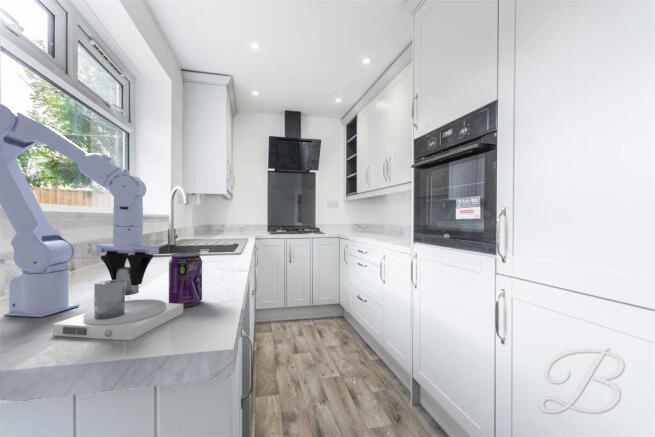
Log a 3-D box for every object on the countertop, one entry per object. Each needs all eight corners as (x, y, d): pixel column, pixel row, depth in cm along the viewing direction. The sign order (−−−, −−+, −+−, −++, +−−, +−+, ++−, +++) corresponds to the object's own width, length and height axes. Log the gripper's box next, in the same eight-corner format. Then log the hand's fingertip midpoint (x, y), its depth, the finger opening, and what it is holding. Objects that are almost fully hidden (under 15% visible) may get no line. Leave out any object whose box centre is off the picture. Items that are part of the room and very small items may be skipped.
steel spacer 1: (87, 319, 50) (87, 284, 50) (109, 311, 54) (110, 279, 54) (109, 320, 49) (110, 285, 49) (130, 312, 54) (130, 279, 54)
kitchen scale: (50, 336, 49) (50, 320, 49) (121, 309, 64) (121, 297, 64) (128, 341, 47) (128, 324, 47) (183, 313, 62) (183, 300, 62)
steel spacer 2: (110, 295, 65) (111, 268, 65) (126, 290, 70) (127, 265, 70) (128, 296, 65) (128, 269, 65) (143, 291, 69) (143, 266, 69)
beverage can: (188, 309, 64) (188, 256, 64) (161, 307, 65) (161, 255, 65) (208, 300, 71) (208, 252, 71) (183, 299, 72) (183, 251, 72)
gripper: (168, 226, 70) (167, 281, 70) (115, 225, 72) (114, 279, 72) (146, 227, 63) (145, 288, 63) (88, 226, 65) (87, 285, 65)
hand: (127, 284), depth 67 cm, fingers closed on steel spacer 2, 4 cm apart
